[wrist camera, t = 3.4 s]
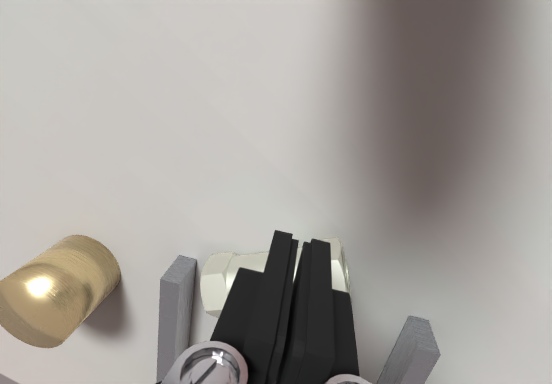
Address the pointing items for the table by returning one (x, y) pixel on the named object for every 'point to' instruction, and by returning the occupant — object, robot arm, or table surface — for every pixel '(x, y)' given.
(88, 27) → the table surface
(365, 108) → the table surface
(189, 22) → the table surface
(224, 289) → the pipe fitting
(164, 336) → the pipe jig
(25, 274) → the cylinder
